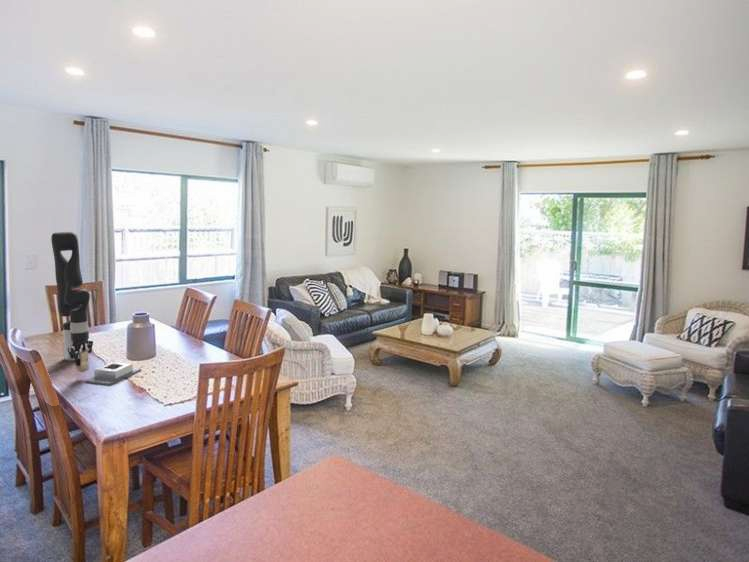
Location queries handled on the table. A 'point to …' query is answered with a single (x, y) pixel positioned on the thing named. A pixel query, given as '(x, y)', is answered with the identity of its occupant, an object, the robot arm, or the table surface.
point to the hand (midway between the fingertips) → (81, 364)
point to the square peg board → (112, 373)
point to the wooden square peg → (83, 362)
